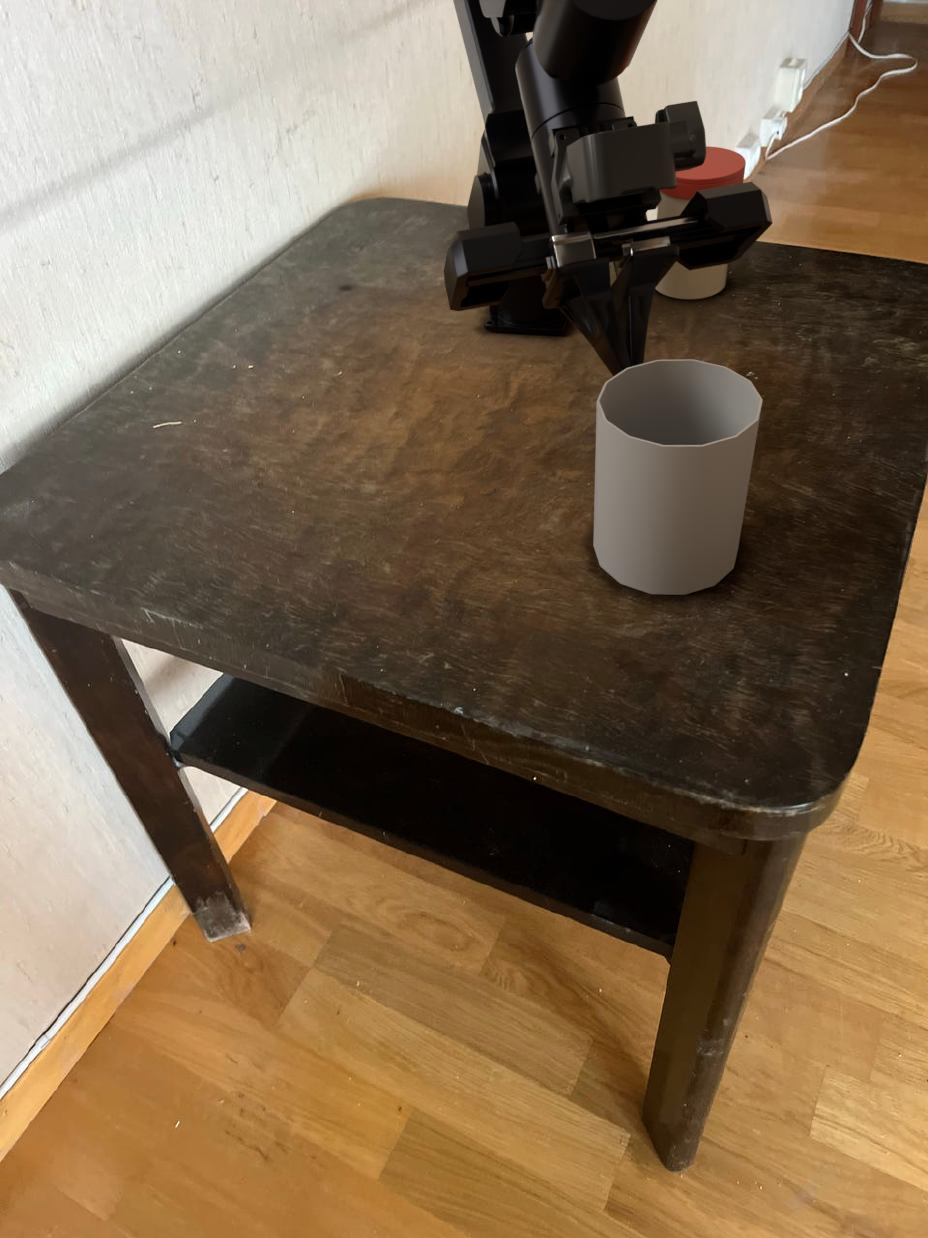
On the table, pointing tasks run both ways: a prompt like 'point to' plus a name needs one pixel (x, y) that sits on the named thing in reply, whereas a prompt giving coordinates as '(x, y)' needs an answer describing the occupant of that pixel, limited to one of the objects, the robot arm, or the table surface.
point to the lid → (710, 173)
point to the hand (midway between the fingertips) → (632, 388)
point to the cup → (672, 473)
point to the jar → (680, 278)
